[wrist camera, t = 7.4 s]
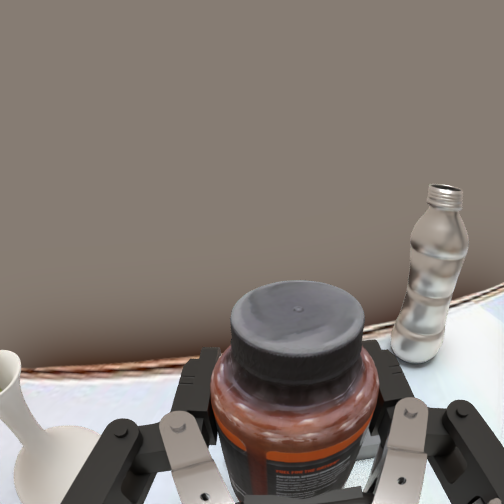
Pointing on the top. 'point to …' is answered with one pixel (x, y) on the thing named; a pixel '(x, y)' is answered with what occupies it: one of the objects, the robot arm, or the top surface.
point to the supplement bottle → (293, 390)
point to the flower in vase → (40, 443)
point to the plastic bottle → (431, 275)
